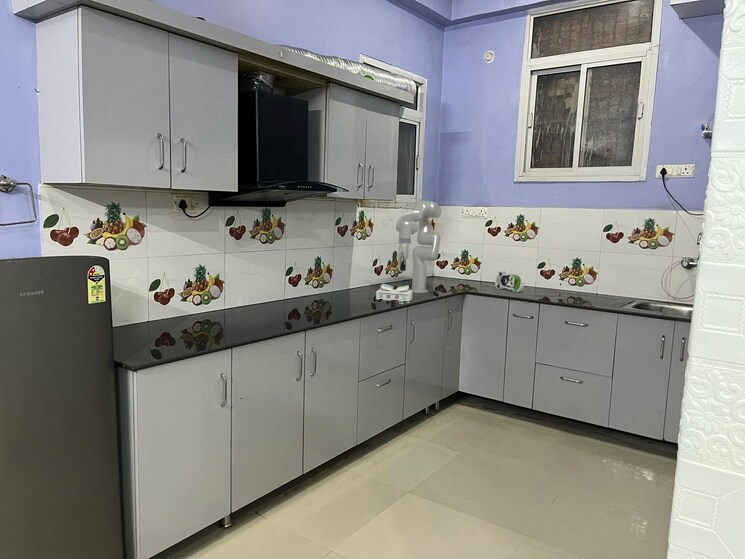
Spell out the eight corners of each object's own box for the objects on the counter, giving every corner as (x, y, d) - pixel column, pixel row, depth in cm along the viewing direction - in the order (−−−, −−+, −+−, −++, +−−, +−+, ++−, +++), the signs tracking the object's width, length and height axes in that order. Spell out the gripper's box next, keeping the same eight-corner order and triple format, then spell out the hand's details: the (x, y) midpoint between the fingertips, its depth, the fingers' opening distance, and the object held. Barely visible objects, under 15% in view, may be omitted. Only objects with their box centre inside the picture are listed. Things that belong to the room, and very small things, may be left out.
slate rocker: (382, 286, 354) (383, 283, 354) (392, 289, 353) (393, 286, 353) (380, 287, 348) (381, 284, 348) (391, 291, 347) (392, 288, 347)
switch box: (379, 296, 359) (380, 287, 358) (412, 298, 355) (412, 289, 354) (375, 299, 346) (376, 290, 345) (409, 302, 342) (409, 292, 341)
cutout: (495, 270, 413) (521, 272, 393) (497, 270, 415) (524, 272, 394) (494, 290, 414) (521, 293, 394) (497, 290, 416) (524, 293, 396)
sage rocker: (398, 290, 352) (397, 287, 352) (409, 288, 351) (408, 285, 351) (396, 291, 347) (396, 288, 346) (407, 289, 345) (407, 286, 345)
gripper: (400, 240, 353) (399, 269, 355) (396, 241, 339) (394, 271, 341) (412, 241, 352) (410, 270, 354) (408, 242, 337) (406, 272, 339)
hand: (402, 270), depth 347 cm, fingers closed
